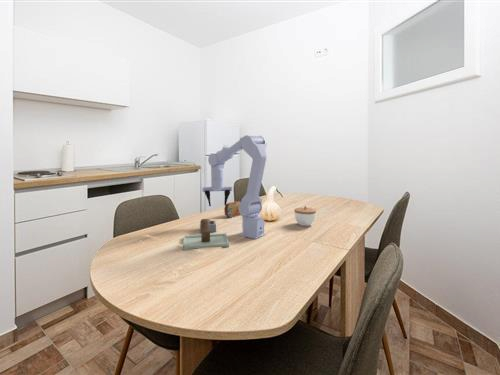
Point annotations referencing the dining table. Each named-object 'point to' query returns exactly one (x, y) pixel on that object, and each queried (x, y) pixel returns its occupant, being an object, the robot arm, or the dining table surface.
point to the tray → (196, 243)
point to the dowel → (205, 230)
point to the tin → (232, 209)
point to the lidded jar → (305, 216)
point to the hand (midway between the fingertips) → (217, 205)
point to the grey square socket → (211, 226)
